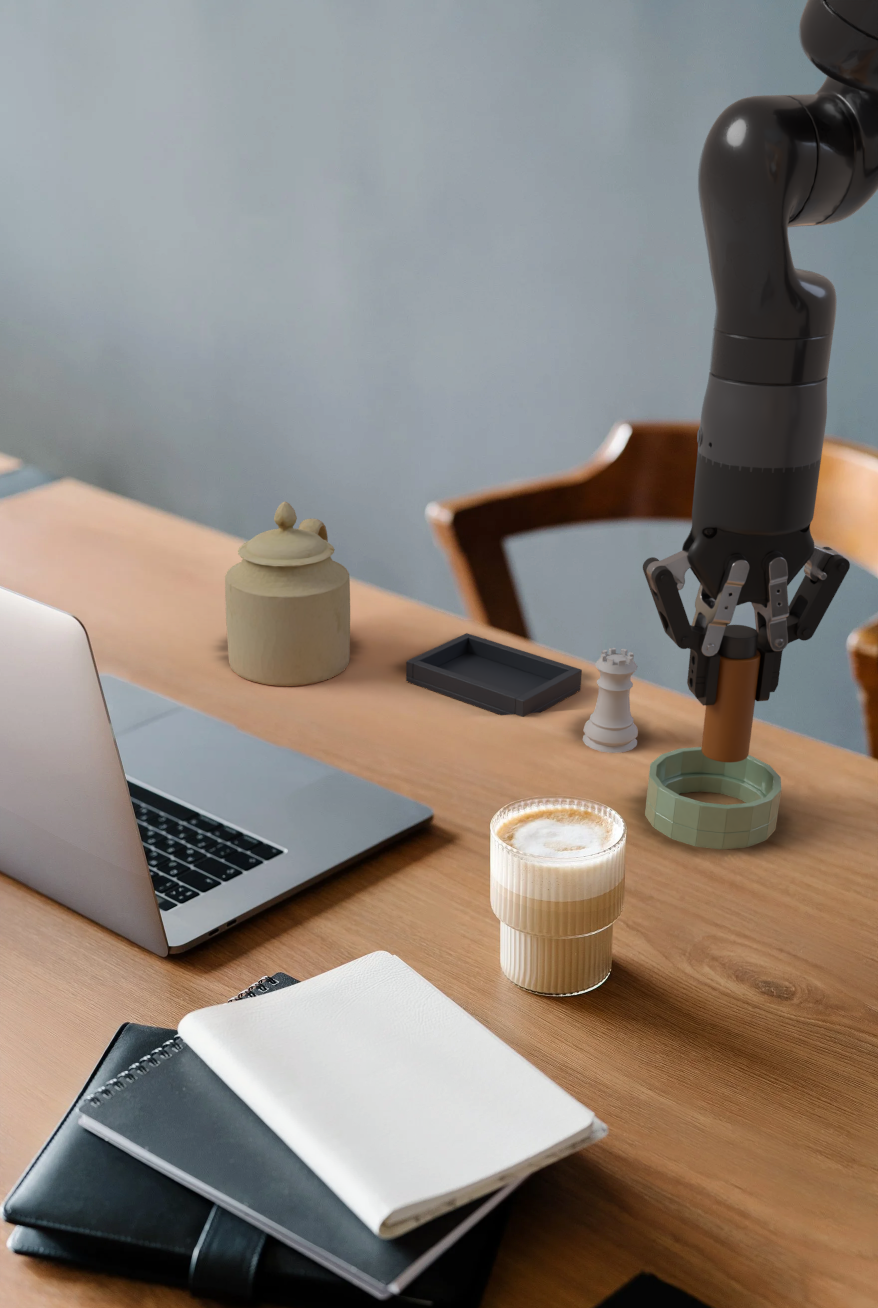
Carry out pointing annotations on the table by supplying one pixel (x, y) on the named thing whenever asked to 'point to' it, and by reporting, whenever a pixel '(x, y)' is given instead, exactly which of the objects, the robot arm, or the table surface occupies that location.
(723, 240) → the robot arm
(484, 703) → the tray
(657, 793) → the green hollow ring
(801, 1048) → the table surface
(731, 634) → the bottle
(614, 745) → the rook chess piece
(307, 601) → the sugar bowl
